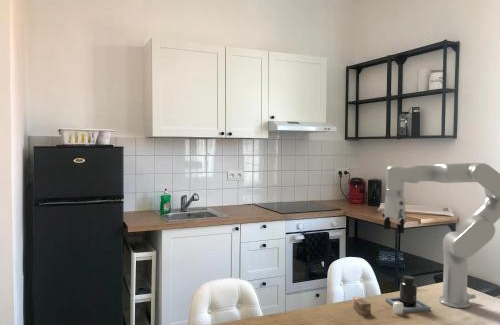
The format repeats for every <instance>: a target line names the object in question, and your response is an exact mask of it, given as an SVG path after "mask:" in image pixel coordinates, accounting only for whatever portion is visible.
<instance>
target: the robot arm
mask: <svg viewBox="0 0 500 325" xmlns="http://www.w3.org/2000/svg"><path fill="white" fill-rule="evenodd" d="M385 178H386V183H385V199H384V206H383V207H384V208H383V209H382V210H381V214H382V217H383V230H390V229H391V221H392V220H396V223H397V224H396V233H397V234H403V233H405V224H406V222H407V219H408V214H406V213H407V212H406V200H405V199H406V198H405V197H404V189H405V187H404V186H405V183H409V184H410V183H411V184H418V183H420V182H435V183H440V184H441V183H442V184H454V183H458V184H459V183H478V184H479V185H480V186H481V187H483V188H484V193H485V200H484V202H483V203H482V205H480V207H479V208H478V209H476V210H475V211H474V212H473V213H471V215H469V217H466V219H465V220H464V222H463V224H462V228H463V232H462V233H461V232H459V231H449V232H447V233H446V235H445V236H444V237H443V240H442V250H443V251H442V252H443V277H442V278H443V280H442V284H443V285H442V295H441V296H439V297H438V302H439V303H441V304H442V305H445V306H447V307H450V308H456V309H458V308H459V309H467V308H469V307H471V301H470V299H471V300H472V299H476V298H477V295H476V294H475V293H470V294H469V293H468V274H469V273H468V272H469V271H468V268H469V261H468V259H469V258H471V257H473V256H475V255H476V254H477V253H478V252H479V251H480V250H482V249H483V248H484V247H485V246H486V245H487V244H488V243H490V241H492V239H493V238H494V236H495V234H496V227H495V224H496V222H497V221H499V219H500V172H499V171H497V170H496V169H495V168H493V167H492V166H491V165H489V164H487V163H485V162H460V163H458V162H457V163H439V164H431V165H430V164H429V165H427V164H426V165H407V166H405V167H404V166H399V165H398V166H397V165H396V166H395V165H390V166H388V167H386V176H385ZM391 219H392V220H391Z"/></svg>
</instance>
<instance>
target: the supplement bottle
mask: <svg viewBox="0 0 500 325" xmlns="http://www.w3.org/2000/svg"><path fill="white" fill-rule="evenodd" d="M415 280H416V278H415V277H414V276H411V275H403V276H402V282H400V284H399V297H400V302H402V303H403V306H406V307H415V306H416V299H417V300H418V296H417V295H418V292H417V291H418V290H417V289H418V286H417V284H416V281H415Z"/></svg>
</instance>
